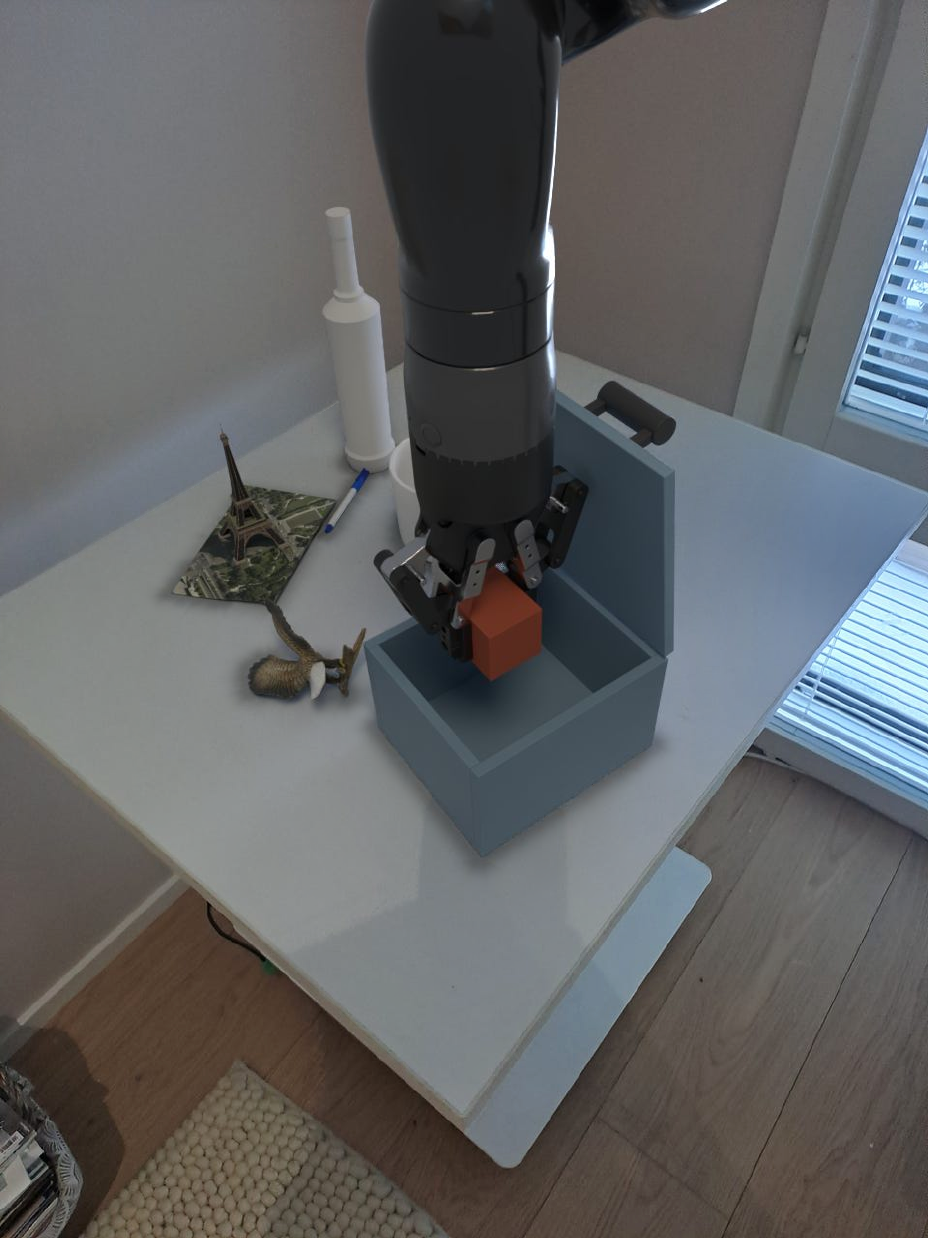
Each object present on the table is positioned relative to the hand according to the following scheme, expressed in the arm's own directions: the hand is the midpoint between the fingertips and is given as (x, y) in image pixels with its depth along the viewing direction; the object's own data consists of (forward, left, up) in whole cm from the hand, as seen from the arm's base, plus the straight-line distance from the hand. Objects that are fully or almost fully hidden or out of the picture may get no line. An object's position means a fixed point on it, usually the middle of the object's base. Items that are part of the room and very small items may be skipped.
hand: (488, 636), depth 58 cm
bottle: (+36, -11, -13) cm, 40 cm away
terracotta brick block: (0, 0, 0) cm, 0 cm away
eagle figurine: (+14, +8, -13) cm, 21 cm away
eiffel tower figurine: (+31, +4, -13) cm, 34 cm away
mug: (+21, -13, -13) cm, 28 cm away
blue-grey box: (0, -2, -13) cm, 13 cm away
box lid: (0, -8, +6) cm, 10 cm away
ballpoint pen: (+32, -6, -13) cm, 35 cm away
